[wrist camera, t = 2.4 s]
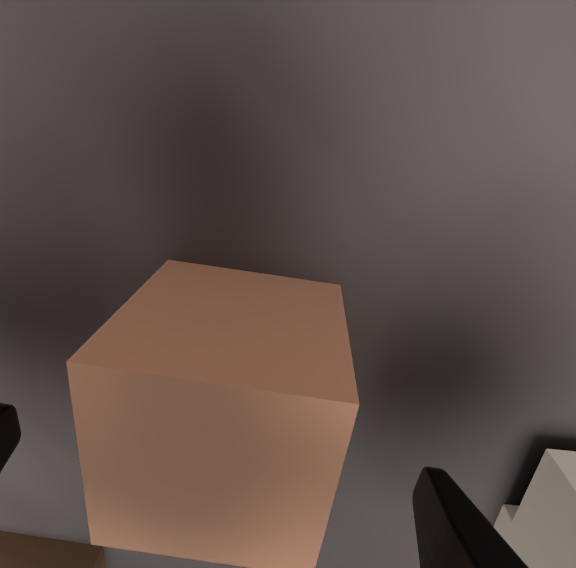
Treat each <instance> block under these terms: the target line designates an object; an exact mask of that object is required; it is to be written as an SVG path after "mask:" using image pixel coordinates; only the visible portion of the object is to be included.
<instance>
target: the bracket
mask: <svg viewBox="0 0 576 568" xmlns="http://www.w3.org/2000/svg"><path fill="white" fill-rule="evenodd" d="M493 527H494V528H495V529H496V530H497V532H498V533H499V534H500V535H501V536H502V537H503V538H504V540H505V541H506V542H507V543H508V544H509V545H510V547H511V548H512V549H513V550H514V551H515V552H516V554H517V555H518V556H519V557H520V558H521V559H522V561H523V562H524V563H525V564H526V565H527V566H528V568H576V451H566V450H556V449H546V450H545V452H544V454H543V457H542V459H541V461H540V463H539V465H538V467H537V469H536V471H535V474H534V476H533V478H532V480H531V482H530V484H529V486H528V489H527V491H526V493H525V495H524V497H523V499H522V501H521V503H520V506H516V505H506V504H503V506H502V508H501V510H500V513H499V515H498V517H497V519H496V522H495V524H494V526H493Z"/></svg>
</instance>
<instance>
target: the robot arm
mask: <svg viewBox="0 0 576 568" xmlns="http://www.w3.org/2000/svg"><path fill="white" fill-rule="evenodd" d="M20 437H21V429H20V424H19V420H18V415H17V411H16V408H15V407H14V406H13V405H10V404H3V403H0V472H1V471H2V469H3V467H4V466H5V464H6V462H7V461H8V459H9V458H10V456H11V454H12V453H13V451H14V450H15V448H16V446H17V445H18V443H19V440H20ZM413 510H414V519H415V527H416V535H417V544H418V552H419V560H420V568H528V566H527V565H526V564H525V563H524V562H523V561H522V559H521V558H520V557H519V556H518V555H517V554H516V552H515V551H514V550H513V549H512V548H511V547H510V545H509V544H508V543H507V542H506V541H505V540H504V538H503V537H502V536H501V535H500V534H499V533H498V532H497V530H496V529H495V528H494V527H493V526H492V525H491V523H490V522H489V521H488V520H487V519H486V518H485V516H484V515H483V514H482V513H481V512H480V511H479V509H478V508H477V507H476V506H475V505H474V504H473V503H472V501H471V500H470V499H469V498H468V497H467V496H466V494H465V493H464V492H463V491H462V490H461V489H460V487H459V486H458V485H457V484H456V483H455V482H454V480H453V479H452V478H451V477H450V476H449V475H448V474H447V472H446V471H444V470H443V469H440V468H433V467H424V468H423V469H422V471H421V473H420V476H419V478H418V481H417V483H416V486H415V488H414V491H413Z"/></svg>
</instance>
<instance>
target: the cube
mask: <svg viewBox="0 0 576 568" xmlns="http://www.w3.org/2000/svg"><path fill="white" fill-rule="evenodd" d="M66 365H67V372H68V379H69V386H70V394H71V401H72V408H73V415H74V423H75V430H76V437H77V445H78V452H79V459H80V466H81V474H82V481H83V488H84V496H85V503H86V510H87V517H88V525H89V532H90V539H91V545H98V546H105V547H112V548H119V549H126V550H132V551H139V552H146V553H153V554H160V555H166V556H173V557H180V558H187V559H194V560H201V561H207V562H214V563H221V564H228V565H235V566H242V567H248V568H315V567H316V563H317V560H318V556H319V552H320V549H321V545H322V541H323V537H324V534H325V530H326V526H327V523H328V519H329V515H330V512H331V508H332V504H333V501H334V497H335V493H336V489H337V486H338V482H339V478H340V475H341V471H342V467H343V464H344V460H345V456H346V453H347V449H348V445H349V441H350V438H351V434H352V430H353V427H354V423H355V419H356V416H357V412H358V408H359V405H360V404H359V398H358V392H357V386H356V379H355V373H354V367H353V360H352V354H351V348H350V342H349V335H348V329H347V323H346V317H345V310H344V304H343V298H342V292H341V285H338V284H332V283H325V282H318V281H311V280H304V279H297V278H291V277H284V276H277V275H270V274H263V273H257V272H250V271H243V270H236V269H229V268H223V267H216V266H209V265H202V264H195V263H188V262H182V261H175V260H167V261H166V262H165V263H164V264H163V265H162V266H161V267H160V268H159V269H158V270H157V271H156V272H155V273H154V274H153V275H152V276H151V277H150V278H149V279H148V280H147V281H146V282H145V283H144V284H143V285H142V286H141V287H140V288H139V289H138V290H137V291H136V292H135V293H134V294H133V295H132V296H131V297H130V298H129V299H128V300H127V301H126V302H125V303H124V304H123V305H122V306H121V307H120V308H119V309H118V310H117V311H116V312H115V313H114V314H113V315H112V316H111V317H110V318H109V319H108V320H107V321H106V322H105V323H104V324H103V325H102V326H101V327H100V328H99V329H98V330H97V331H96V332H95V333H94V334H93V335H92V336H91V337H90V338H89V339H88V340H87V341H86V342H85V343H84V344H83V345H82V346H81V347H80V348H79V349H78V350H77V351H76V352H75V353H74V354H73V355H72V356H71V357H70V358H69V359H68V360H67V361H66Z"/></svg>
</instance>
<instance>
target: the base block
mask: <svg viewBox="0 0 576 568" xmlns="http://www.w3.org/2000/svg"><path fill="white" fill-rule="evenodd" d="M0 568H105V560H104V551H103V547H102V546H95V545H89V544H82V543H75V542H69V541H62V540H56V539H49V538H42V537H36V536H29V535H23V534H16V533H9V532H3V531H0Z"/></svg>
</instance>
